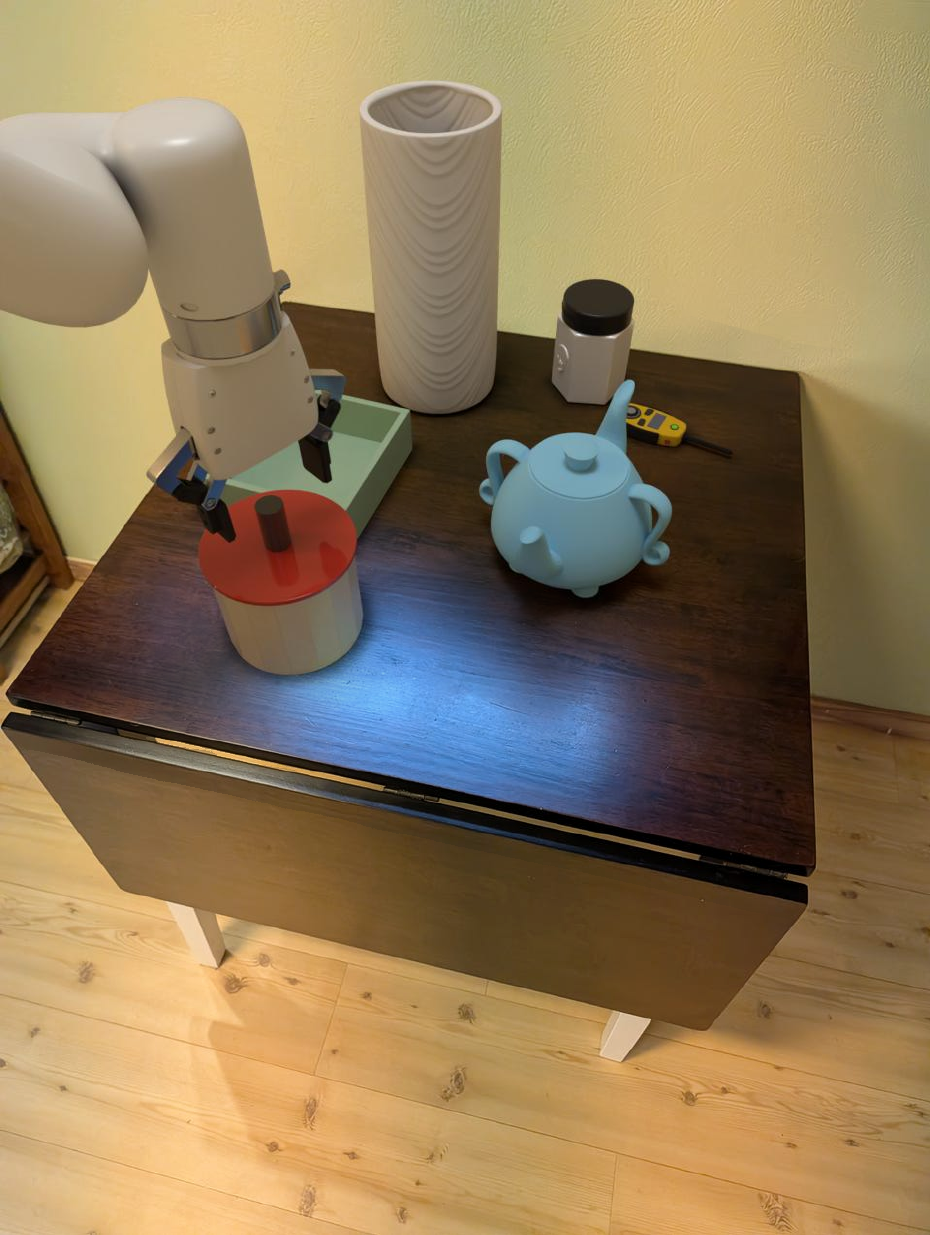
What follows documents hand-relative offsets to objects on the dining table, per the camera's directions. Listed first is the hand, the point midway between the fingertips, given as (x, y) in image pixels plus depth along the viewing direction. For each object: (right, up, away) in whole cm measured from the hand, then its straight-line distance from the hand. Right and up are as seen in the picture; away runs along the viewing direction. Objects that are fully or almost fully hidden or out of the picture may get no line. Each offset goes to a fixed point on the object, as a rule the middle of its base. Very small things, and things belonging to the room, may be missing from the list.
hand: (271, 502), depth 70 cm
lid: (0, -3, +4) cm, 5 cm away
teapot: (+26, -3, +18) cm, 32 cm away
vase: (+13, +20, +36) cm, 43 cm away
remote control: (+40, +12, +30) cm, 51 cm away
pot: (0, -10, +12) cm, 16 cm away
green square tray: (-1, +6, +25) cm, 26 cm away
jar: (+31, +19, +36) cm, 52 cm away
